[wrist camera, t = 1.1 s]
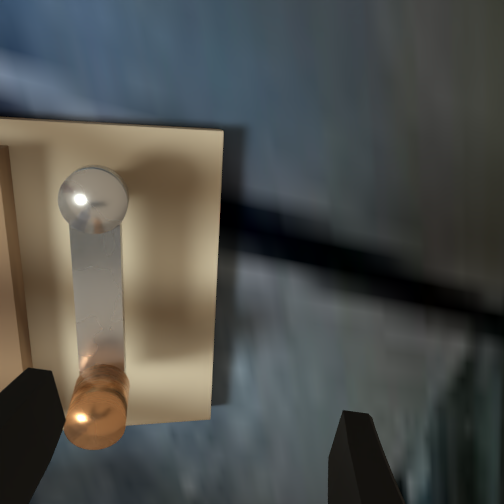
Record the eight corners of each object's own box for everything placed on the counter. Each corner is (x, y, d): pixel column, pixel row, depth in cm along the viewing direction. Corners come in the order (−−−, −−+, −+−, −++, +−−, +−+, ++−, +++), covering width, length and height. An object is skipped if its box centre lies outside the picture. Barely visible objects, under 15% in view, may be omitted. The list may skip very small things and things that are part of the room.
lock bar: (133, 393, 20) (129, 447, 17) (78, 396, 20) (63, 452, 17) (128, 165, 17) (121, 183, 14) (60, 163, 16) (38, 180, 13)
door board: (208, 407, 25) (213, 441, 23) (-169, 432, 21) (-211, 476, 19) (220, 129, 20) (229, 134, 18) (-270, 101, 16) (-344, 104, 14)
